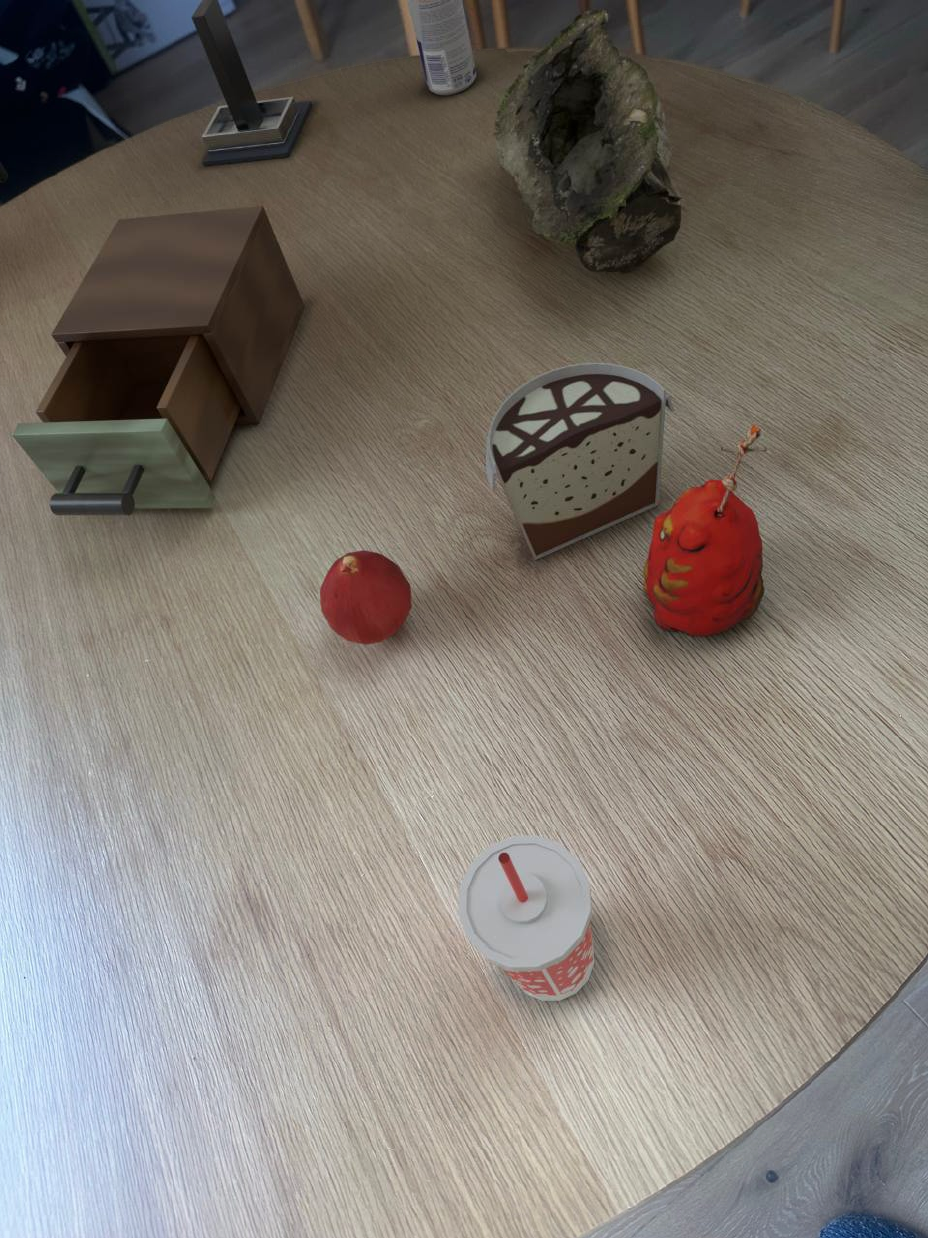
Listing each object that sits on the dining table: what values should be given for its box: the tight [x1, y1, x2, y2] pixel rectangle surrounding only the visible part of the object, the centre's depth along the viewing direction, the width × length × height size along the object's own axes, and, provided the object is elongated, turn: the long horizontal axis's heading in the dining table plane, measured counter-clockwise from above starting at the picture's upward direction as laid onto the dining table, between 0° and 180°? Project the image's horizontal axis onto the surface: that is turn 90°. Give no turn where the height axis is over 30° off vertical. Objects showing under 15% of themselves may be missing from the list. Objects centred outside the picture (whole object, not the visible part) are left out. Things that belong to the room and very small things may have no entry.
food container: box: [485, 362, 675, 561], centre depth 65 cm, size 12×6×10 cm, turn 111°
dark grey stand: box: [191, 0, 300, 154], centre depth 102 cm, size 9×6×13 cm, turn 80°
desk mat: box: [202, 100, 313, 167], centre depth 108 cm, size 10×10×1 cm
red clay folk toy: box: [642, 424, 768, 638], centre depth 56 cm, size 8×7×15 cm
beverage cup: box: [457, 834, 595, 1002], centre depth 46 cm, size 6×6×14 cm
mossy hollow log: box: [493, 8, 683, 275], centre depth 82 cm, size 28×13×15 cm
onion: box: [319, 550, 412, 645], centre depth 63 cm, size 6×6×8 cm
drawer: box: [11, 334, 241, 516], centre depth 76 cm, size 18×12×8 cm
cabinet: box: [50, 205, 305, 425], centre depth 82 cm, size 15×14×10 cm
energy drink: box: [406, 0, 477, 96], centre depth 101 cm, size 5×5×12 cm
